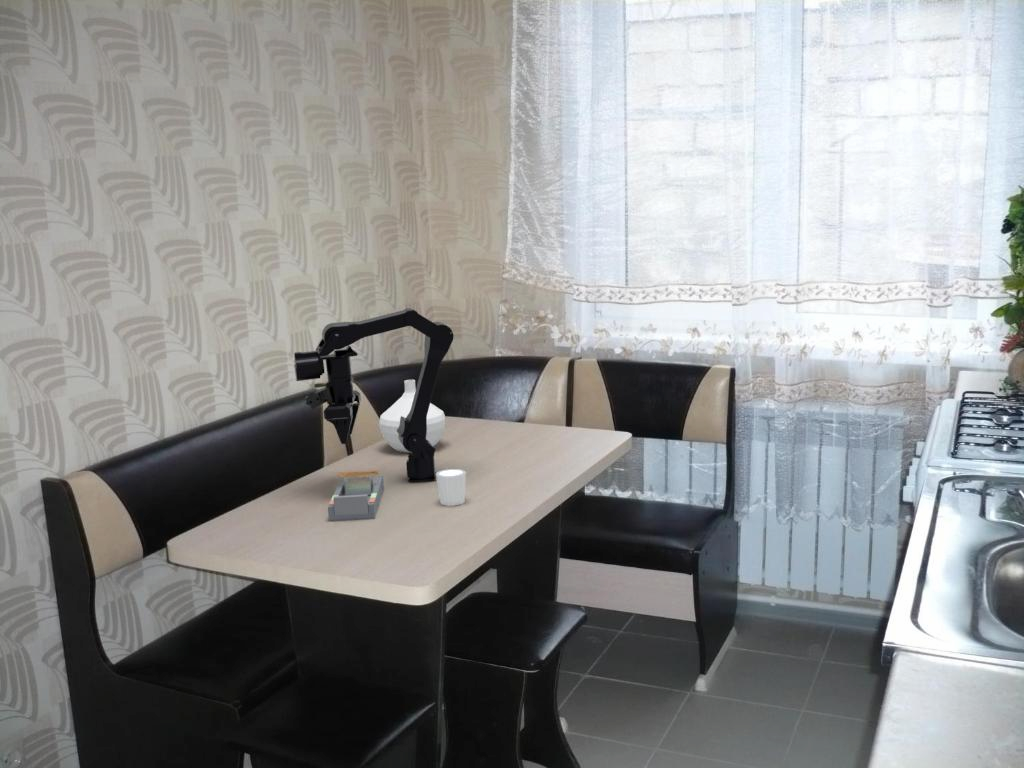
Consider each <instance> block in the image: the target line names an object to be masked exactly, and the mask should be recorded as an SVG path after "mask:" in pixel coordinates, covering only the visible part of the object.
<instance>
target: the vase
mask: <svg viewBox="0 0 1024 768" xmlns="http://www.w3.org/2000/svg"><path fill="white" fill-rule="evenodd" d="M403 383H404V392H403V393H402V395H401V397H399V398H398V399H397V400H396V401H395V402H394V403H393V404H392V405H391V406H390V407H388V408H387V410H385V411H384V412H383V413H382V414H380V417H379V421H378V425H379V426H378V427H379V431H380V433H381V435H382V437H383V439H384V441H385V442H386V443H387V444H388V445H389V446H390V447H391V448H392V449H394V450H395V451H397V452H400V453H408V454H409V453H411V452H409V451H408V450H406V449H405V448H404V446H403V445H402V444H401V442H400V440H399V437H398V435H399V434H398V432H397V429H398V428H399V425H400V418H401V416H402V417H405V418H406V417H407V415H408V414H409V412H410V410H411V407H412V403H413V399H414V395H415V391H416V388H417V387H416V380H415V379H406V380H404V381H403ZM446 425H447V424H446V415H445V412H444V411H443V410H442V409H440V408H439V407H437V406H436V405H435V404H433V403H431V402H430V406H429V409H428V413H427V434H426V440H428V441H429V442H430V443H431V445H432V446H433V447H435V446H436V445H437V444H438V442H439V441H440V440H441V438H443V437H442V436H443V433H444V431H445V429H446Z"/></svg>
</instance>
